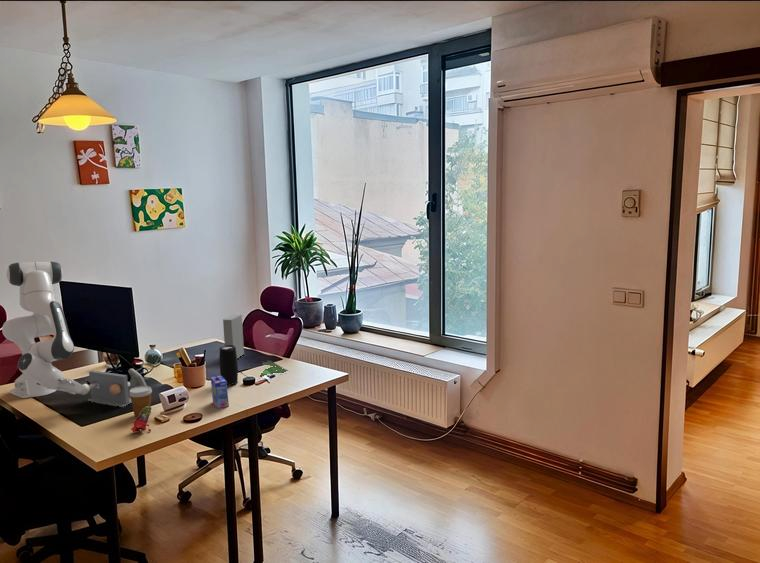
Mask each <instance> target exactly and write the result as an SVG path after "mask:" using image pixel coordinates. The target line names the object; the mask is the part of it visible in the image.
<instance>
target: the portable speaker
mask: <svg viewBox="0 0 760 563" xmlns="http://www.w3.org/2000/svg"><path fill="white" fill-rule="evenodd" d="M218 361H219V374H220V376H222V377H223V378H224V379H225V380H226V382H227V387H230V386H231V385H237V384H239V383H238V382H239V381H238V378H239V377H238V376H239V371H238V366H239V365H238V360H237V354H236V348H235V346H234V345H226V346H225V345H223V346H219V360H218Z"/></svg>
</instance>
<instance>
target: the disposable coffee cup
mask: <svg viewBox="0 0 760 563" xmlns="http://www.w3.org/2000/svg"><path fill="white" fill-rule="evenodd" d="M152 392H153V389H152V387H151V386H148V385H147V386H139V387H135V388H132V389H131V390H130V392H129V397H130V398H131V402H132V404H131V406H132V411H133V414H134V418H135V419H136V418H137V417H138V416H139V413H140V411H141V410H142V409H143V408H144V407H146V406H150V407H151V404H152ZM151 408H152V407H151Z"/></svg>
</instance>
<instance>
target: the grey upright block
mask: <svg viewBox="0 0 760 563" xmlns="http://www.w3.org/2000/svg"><path fill="white" fill-rule="evenodd" d="M222 322H223V323H222V324H223V327H222V328H223V341H224V346H226V345H234V346H235V348H236V354H237V358H239V357H240V356H242V355H243V354H244V355H245V347H244V346H245V345H244V333H243V331H244V330H243V329H244V326H243V315H242V314H232V315H230V316H228V317H226V318H224V319H222ZM242 357H243V356H242ZM239 359H240V358H239Z"/></svg>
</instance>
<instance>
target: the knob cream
mask: <svg viewBox="0 0 760 563" xmlns="http://www.w3.org/2000/svg"><path fill="white" fill-rule="evenodd" d="M81 385H82V386H83V389H82V391H81V392H80V395H81V396H84V395H87V394H89V393H91V389H93V388H96V387H99V382H96V383H93V384H90V383H89V384H88V383H83V384H81Z"/></svg>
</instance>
